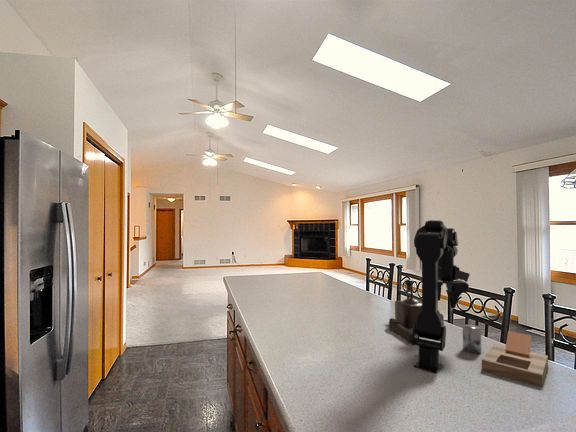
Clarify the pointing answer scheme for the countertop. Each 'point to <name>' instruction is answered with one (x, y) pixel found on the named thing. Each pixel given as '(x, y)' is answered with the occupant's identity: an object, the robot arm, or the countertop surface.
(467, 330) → the peg
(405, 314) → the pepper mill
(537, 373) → the hole plate
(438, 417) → the countertop surface
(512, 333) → the pink flat plate
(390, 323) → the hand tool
